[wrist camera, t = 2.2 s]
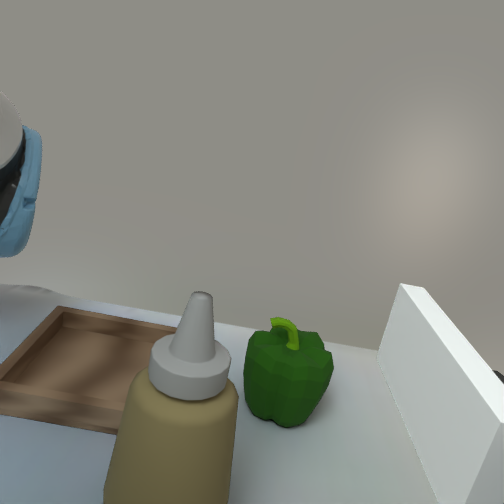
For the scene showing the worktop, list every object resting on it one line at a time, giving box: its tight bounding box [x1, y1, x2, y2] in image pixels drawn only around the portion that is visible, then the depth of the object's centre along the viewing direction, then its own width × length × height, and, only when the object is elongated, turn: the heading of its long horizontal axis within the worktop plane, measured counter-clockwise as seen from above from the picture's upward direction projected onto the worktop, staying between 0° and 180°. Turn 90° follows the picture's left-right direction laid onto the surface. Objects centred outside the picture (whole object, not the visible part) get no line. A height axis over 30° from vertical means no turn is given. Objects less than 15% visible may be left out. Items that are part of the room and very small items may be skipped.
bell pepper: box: [243, 317, 334, 427], centre depth 45 cm, size 8×8×10 cm
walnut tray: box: [0, 306, 177, 435], centre depth 46 cm, size 15×15×2 cm
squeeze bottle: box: [103, 291, 239, 504], centre depth 29 cm, size 8×8×18 cm
